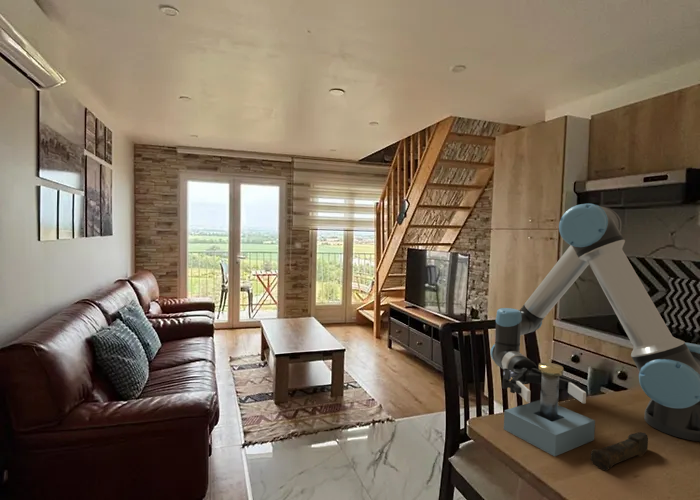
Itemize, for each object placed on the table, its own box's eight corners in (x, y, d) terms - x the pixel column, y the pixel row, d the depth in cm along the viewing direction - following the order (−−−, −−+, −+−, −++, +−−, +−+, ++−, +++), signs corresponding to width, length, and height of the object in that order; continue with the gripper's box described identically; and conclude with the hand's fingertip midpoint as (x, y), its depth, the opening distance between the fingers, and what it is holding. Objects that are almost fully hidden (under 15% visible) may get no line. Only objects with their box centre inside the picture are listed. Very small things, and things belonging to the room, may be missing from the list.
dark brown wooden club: (607, 474, 83) (608, 453, 83) (589, 464, 87) (590, 443, 87) (659, 456, 91) (661, 437, 91) (641, 447, 95) (642, 428, 95)
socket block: (594, 440, 97) (595, 420, 97) (554, 456, 89) (555, 435, 89) (542, 416, 109) (543, 398, 109) (503, 429, 101) (504, 410, 101)
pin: (565, 432, 98) (568, 367, 98) (551, 437, 96) (554, 370, 95) (544, 423, 103) (547, 361, 103) (530, 427, 100) (533, 364, 100)
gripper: (560, 381, 117) (606, 413, 96) (477, 378, 117) (504, 410, 96) (561, 356, 117) (608, 383, 95) (478, 354, 117) (506, 380, 96)
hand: (556, 397), depth 96 cm, fingers open, 13 cm apart
